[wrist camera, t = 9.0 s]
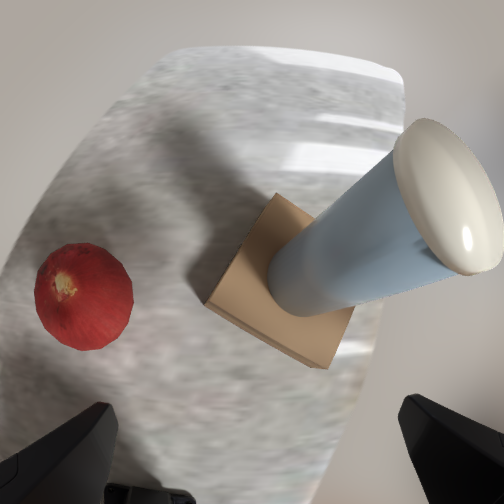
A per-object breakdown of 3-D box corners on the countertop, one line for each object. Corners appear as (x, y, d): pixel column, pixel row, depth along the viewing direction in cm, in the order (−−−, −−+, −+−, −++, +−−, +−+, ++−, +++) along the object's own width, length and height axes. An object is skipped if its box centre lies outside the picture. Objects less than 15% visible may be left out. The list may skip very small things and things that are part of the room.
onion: (45, 310, 16) (-15, 289, 9) (92, 246, 18) (57, 192, 11) (107, 365, 16) (70, 380, 9) (155, 297, 19) (149, 268, 11)
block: (310, 367, 20) (327, 369, 18) (203, 305, 19) (209, 300, 17) (353, 268, 24) (371, 260, 21) (265, 207, 23) (276, 192, 21)
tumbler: (326, 331, 19) (508, 293, 7) (252, 302, 18) (408, 216, 6) (344, 259, 21) (494, 173, 9) (278, 228, 20) (405, 93, 8)
